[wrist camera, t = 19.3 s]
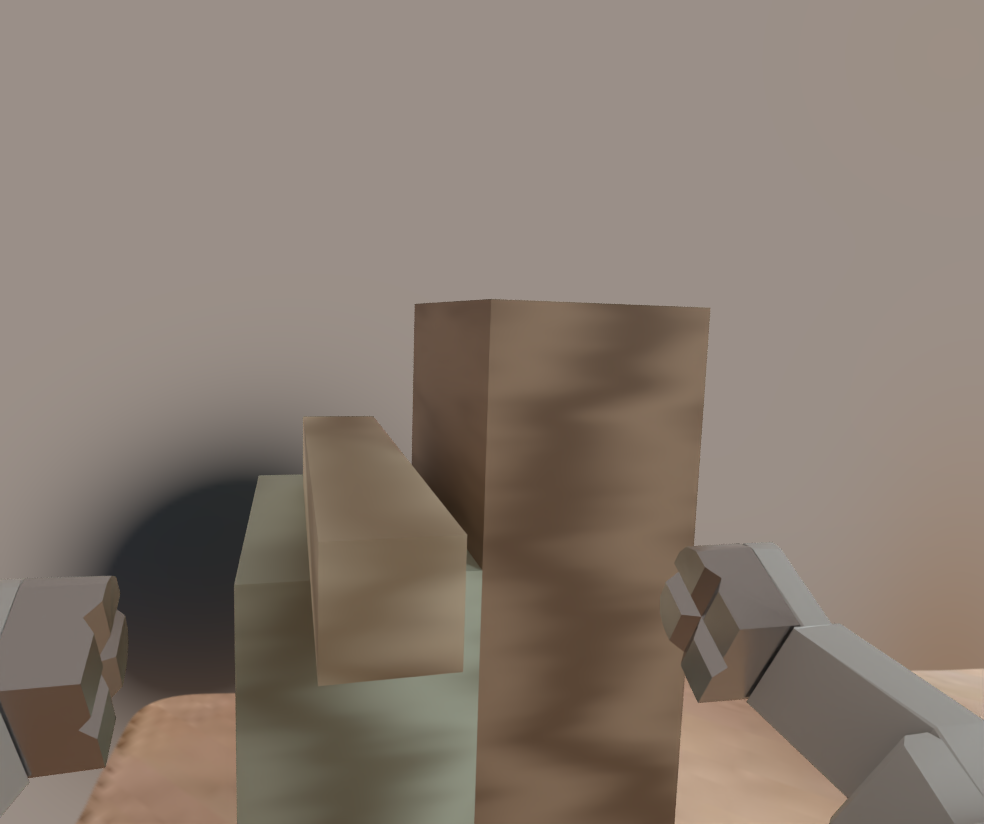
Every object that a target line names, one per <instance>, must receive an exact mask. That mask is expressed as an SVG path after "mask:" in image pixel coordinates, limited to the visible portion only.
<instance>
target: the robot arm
mask: <svg viewBox="0 0 984 824" xmlns="http://www.w3.org/2000/svg"><path fill="white" fill-rule="evenodd" d="M674 564H675V566H676V568H677V570H678V573H676V574H675V575H674V576H673V577H671V578H670V579H669V580H667V581H666V582H665V585H664V587H663V590H662V593H661V595H660V615H661V620H662V624H663V627H664V629H665V632H666V634H667V636H668V639H669V640H670V641H671V642H672V643H673V644H675V645H676V646H677V647H678V648H680V649H681V650H682V651H683V652H684V653H683V657H682V661H681V667H682V669H683V671H684V674H685V676H686V678H687V680H688V682H689V684H690V687H691V689H692V691H693V693H694V695H695V697H696V699H697V702H698V703H703V702H716V701H729V700H741V699H748V700H747V703H748V704H749V705H750V706H751V707H753V708H754V709H755V710H756V711H757V712H758V713H759V714H760V715H761V716H762V717H763V718H764V719H765V720H766V721H767V722H768V723H769V724H770V725H771V726H772V727H774V728H775V729H776V730H777V731H778V732H779V733H780V734H781V735H782V736H783V737H784V738H785V739H786V740H787V741H788V742H789V743H790V744H791V745H792V746H793V747H795V748H796V749H797V750H798V751H799V752H800V753H801V754H802V755H803V756H804V757H805V758H806V759H807V760H808V761H809V762H810V763H811V764H812V765H813V766H814V767H816V768H817V769H818V770H819V771H820V772H821V773H822V774H823V775H824V776H825V777H826V778H827V779H828V780H829V781H830V782H831V783H832V784H833V785H834V786H835V787H837V788H838V789H839V790H840V791H841V792H842V793H843V794H844V795H845V796H846V797H847V798H848V799H847V800H846V801H845V803H844V804H843V805H842V806H841V807H840V808H839V809H838V810H837V811H836V812H835V814H834V815H833V816H832V817H831V820H830V823H829V824H984V720H983V719H981V718H980V717H978V716H977V715H975V714H974V713H972V712H971V711H969V710H968V709H966V708H965V707H963V706H962V705H961V704H959V703H958V702H956V701H955V700H953V699H952V698H950V697H949V696H947V695H946V694H944V693H943V692H941V691H940V690H938V689H937V688H935V687H934V686H932V685H931V684H929V683H928V682H926V681H925V680H923V679H922V678H920V677H919V676H917V675H916V674H914V673H913V672H911V671H910V670H908V669H907V668H905V667H904V666H902V665H901V664H899V663H898V662H897V661H895V660H894V659H892V658H890V657H889V656H888V655H886V654H884V653H883V652H882V651H880V650H879V649H877V648H876V647H874V646H873V645H871V644H870V643H868V642H867V641H865V640H864V639H862V638H861V637H859V636H858V635H856V634H855V633H853V632H852V631H850V630H849V629H847V628H846V627H844V626H843V625H841V624H831V622H830V621H829V619H828V618H827V616H826V615H825V613H824V612H823V610H822V609H821V607H820V606H819V604H818V603H817V601H816V600H815V598H814V597H813V596H812V594H811V593H810V591H809V590H808V588H807V587H806V585H805V584H804V582H803V581H802V579H801V578H800V577H799V575H798V573H797V572H796V570H795V569H794V568H793V566H792V565H791V563H790V562H789V560H788V559H787V557H786V556H785V554H784V553H783V551H782V550H781V549H780V548H779V547H778V546H777V545H776V544H774V543H772V542H766V543H747V544H739V543H736V544H721V545H705V546H689V547H685V548H684V549H683V550H681V551H680V552H679V554H678V556H677V558H676V560H675V562H674ZM119 596H120V591H119V587H118V583H117V579H116V577H115V576H91V577H51V578H25V579H0V817H1V816H2V815H3V814H4V813H5V811H6V810H7V809H8V808H9V807H10V805H11V804H12V803H13V802H14V800H15V799H16V798H17V797H18V796H19V795H20V793H21V792H22V791H23V790H24V788H25V787H26V786H27V785H28V784H29V779H28V778H33V777H39V776H48V775H55V774H63V773H70V772H77V771H85V770H92V769H100V768H105V767H106V762H107V758H108V753H109V748H110V744H111V739H112V734H113V730H114V725H115V720H116V716H115V712H114V708H113V704H112V700H111V698H112V697H113V696H114V695H115V693H117V692H118V690H119V689H120V688H121V687H122V686H123V681H124V676H125V671H126V666H127V653H128V631H127V624H126V618H125V615H124V614H122V613H121V612H119V611H118V610H117V605H118V601H119Z"/></svg>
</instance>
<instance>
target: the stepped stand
mask: <svg viewBox="0 0 984 824" xmlns="http://www.w3.org/2000/svg"><path fill="white" fill-rule="evenodd" d="M709 318H710V308H698V307H675V306H650V305H625V304H599V303H575V302H550V301H525V300H524V301H523V300H500V299H486V300H470V301H454V302H440V303H423V304H415V322H414V323H415V324H414V327H415V328H414V374H413V426H412V431H413V432H412V466H413V467H414V468H415V470H416V471H417V472H418V473H419V475H420V476H421V477H422V478H423V480H424V481H425V482H426V483H427V485H428V486H429V487H430V489H431V490H432V491H433V492H434V494H435V495H436V496H437V497H438V499H439V500H440V501H441V502H442V504H443V505H444V506H445V507H446V509H447V510H448V511H449V513H450V514H451V515H452V516H453V518H454V519H455V520H456V521H457V523H458V524H459V525H460V526H461V528H462V529H463V530H464V531H465V533H466V534H467V560H466V594H465V628H464V662H463V672H459V673H448V674H438V675H428V676H418V677H408V678H397V679H387V680H377V681H367V682H356V683H346V684H336V685H326V686H318V679H317V666H316V652H315V639H314V625H313V612H312V598H311V585H310V571H309V558H308V544H307V531H306V517H305V504H304V490H303V475H267V476H266V475H265V476H264V475H263V476H259V477H258V482H257V486H256V491H255V495H254V500H253V504H252V508H251V513H250V517H249V522H248V526H247V531H246V535H245V539H244V544H243V548H242V553H241V557H240V561H239V566H238V571H237V575H236V579H235V584H234V605H235V606H234V607H235V608H234V610H235V611H234V612H235V687H236V688H235V694H236V777H237V824H674V822H675V807H676V793H677V779H678V764H679V750H680V736H681V721H682V707H683V693H684V678H685V674H684V671H683V669H682V667H681V661H682V657H683V653H684V652H683V651H682V650H681V649H680V648H678V647H677V646H676V645H675V644H673V643H672V642H671V641H670V640H669V639H668V636H667V634H666V632H665V629H664V627H663V624H662V620H661V615H660V595H661V593H662V590H663V587H664V585H665V582H666V581H667V580H669V579H670V578H671V577H673V576H674V575H675V574H676V573H678V570H677V568H676V566H675V564H674V562H675V560H676V558H677V556H678V554H679V552H680V551H681V550H683V549H684V548H685V547H689V546H694V534H695V520H696V506H697V492H698V478H699V463H700V448H701V434H702V420H703V406H704V405H703V404H704V392H705V391H704V390H705V377H706V363H707V348H708V333H709V320H710V319H709Z"/></svg>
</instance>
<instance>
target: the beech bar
mask: <svg viewBox="0 0 984 824" xmlns="http://www.w3.org/2000/svg"><path fill="white" fill-rule="evenodd" d="M303 490H304V504H305V517H306V531H307V544H308V558H309V571H310V585H311V598H312V612H313V625H314V639H315V652H316V666H317V679H318V686H326V685H336V684H346V683H356V682H367V681H377V680H387V679H397V678H408V677H418V676H428V675H438V674H448V673H459V672H463V662H464V628H465V594H466V560H467V534H466V533H465V531H464V530H463V529H462V528H461V526H460V525H459V524H458V523H457V521H456V520H455V519H454V518H453V516H452V515H451V514H450V513H449V511H448V510H447V509H446V507H445V506H444V505H443V504H442V502H441V501H440V500H439V499H438V497H437V496H436V495H435V494H434V492H433V491H432V490H431V489H430V487H429V486H428V485H427V483H426V482H425V481H424V480H423V478H422V477H421V476H420V475H419V473H418V472H417V471H416V470H415V468H414V467H413V466H412V465H411V463H410V462H409V461H408V459H407V458H406V457H405V456H404V454H403V453H402V452H401V451H400V450H399V448H398V447H397V446H396V444H395V443H394V442H393V441H392V439H391V438H390V437H389V435H388V434H387V433H386V432H385V430H383V428H382V427H381V425H380V424H379V423H378V422H377V420H376V419H375V418H374V417H373V416H351V417H350V416H326V417H324V416H317V417H316V416H315V417H303Z"/></svg>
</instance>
